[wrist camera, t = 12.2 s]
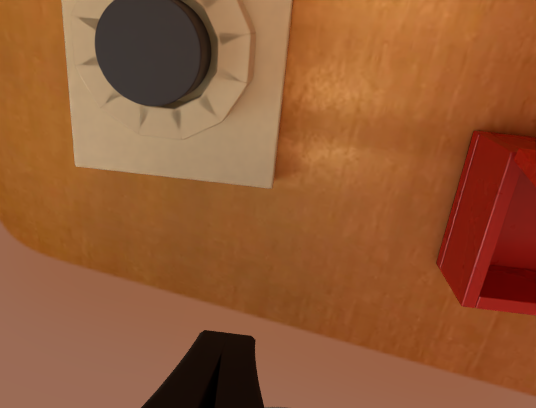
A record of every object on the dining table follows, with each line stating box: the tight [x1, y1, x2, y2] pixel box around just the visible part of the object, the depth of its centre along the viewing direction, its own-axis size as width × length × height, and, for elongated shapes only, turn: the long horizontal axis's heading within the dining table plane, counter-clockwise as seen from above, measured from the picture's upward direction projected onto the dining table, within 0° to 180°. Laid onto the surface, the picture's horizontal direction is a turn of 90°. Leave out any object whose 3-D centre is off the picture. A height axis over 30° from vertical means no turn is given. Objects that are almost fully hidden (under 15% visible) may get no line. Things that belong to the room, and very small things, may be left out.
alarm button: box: [95, 0, 211, 106], centre depth 15 cm, size 4×4×2 cm
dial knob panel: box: [62, 0, 293, 189], centre depth 17 cm, size 11×9×3 cm
